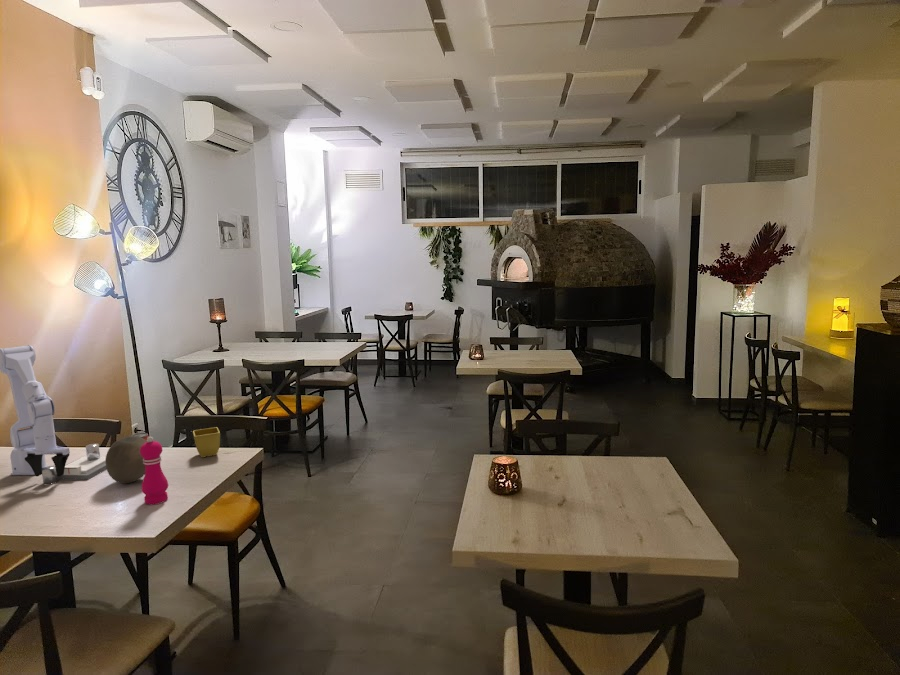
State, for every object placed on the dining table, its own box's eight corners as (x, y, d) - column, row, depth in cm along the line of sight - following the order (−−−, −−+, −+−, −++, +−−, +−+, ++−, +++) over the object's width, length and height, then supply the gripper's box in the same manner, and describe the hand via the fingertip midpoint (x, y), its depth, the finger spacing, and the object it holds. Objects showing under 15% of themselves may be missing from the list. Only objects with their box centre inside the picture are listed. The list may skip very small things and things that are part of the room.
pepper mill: (158, 506, 176) (152, 441, 173) (137, 504, 177) (130, 440, 174) (174, 496, 183) (168, 433, 180) (154, 495, 184) (147, 432, 181)
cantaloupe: (112, 493, 186) (107, 447, 184) (104, 480, 197) (99, 437, 195) (161, 481, 195) (156, 437, 193) (150, 470, 206) (146, 428, 204)
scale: (46, 479, 200) (44, 467, 199) (81, 461, 217) (79, 450, 216) (88, 479, 199) (87, 467, 198) (120, 461, 216) (118, 450, 215)
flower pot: (194, 453, 223) (192, 430, 221) (219, 449, 227) (217, 426, 225) (196, 460, 215) (194, 436, 214) (222, 456, 219) (220, 432, 218)
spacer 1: (40, 484, 196) (38, 470, 195) (49, 480, 199) (47, 465, 199) (51, 484, 195) (49, 470, 194) (60, 480, 199) (58, 465, 198)
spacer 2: (84, 460, 211) (83, 447, 210) (92, 456, 215) (90, 443, 214) (95, 460, 211) (93, 447, 210) (102, 456, 214) (101, 443, 214)
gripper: (14, 439, 192) (19, 479, 194) (56, 439, 190) (61, 479, 192) (31, 433, 199) (36, 472, 200) (71, 432, 197) (76, 471, 199)
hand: (49, 475), depth 197 cm, fingers open, 7 cm apart
